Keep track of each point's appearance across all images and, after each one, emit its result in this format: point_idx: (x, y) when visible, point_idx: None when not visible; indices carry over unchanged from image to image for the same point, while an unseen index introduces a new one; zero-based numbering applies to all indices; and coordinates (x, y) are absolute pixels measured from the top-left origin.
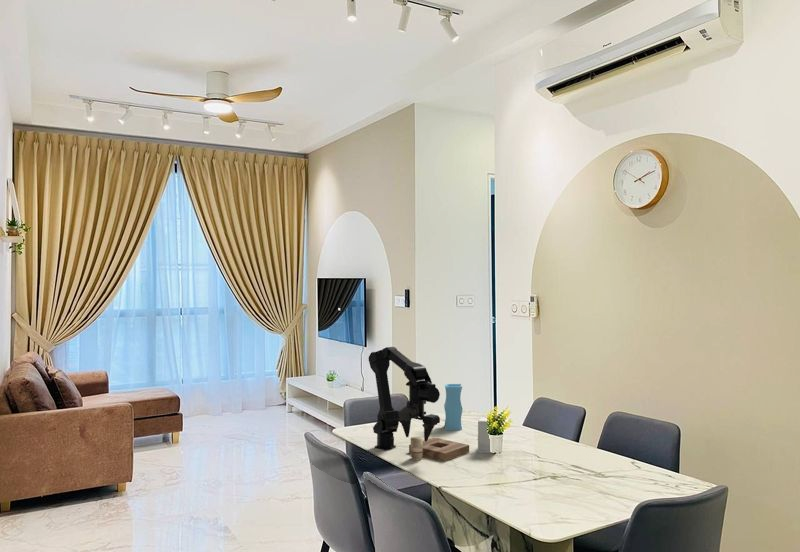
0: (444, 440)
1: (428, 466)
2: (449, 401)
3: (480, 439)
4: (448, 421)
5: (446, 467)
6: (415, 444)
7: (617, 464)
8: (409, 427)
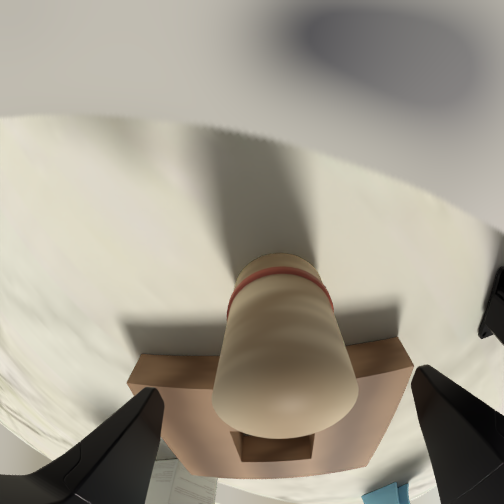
0: (304, 473)
1: (108, 227)
2: None
3: (164, 492)
4: (392, 500)
5: (62, 283)
6: (245, 324)
7: (37, 445)
8: (437, 468)
